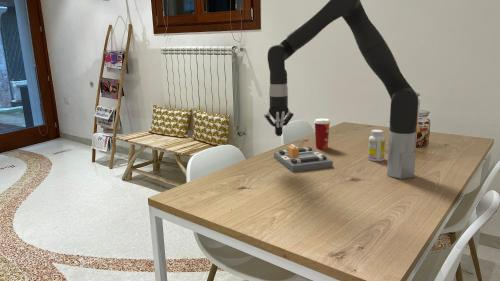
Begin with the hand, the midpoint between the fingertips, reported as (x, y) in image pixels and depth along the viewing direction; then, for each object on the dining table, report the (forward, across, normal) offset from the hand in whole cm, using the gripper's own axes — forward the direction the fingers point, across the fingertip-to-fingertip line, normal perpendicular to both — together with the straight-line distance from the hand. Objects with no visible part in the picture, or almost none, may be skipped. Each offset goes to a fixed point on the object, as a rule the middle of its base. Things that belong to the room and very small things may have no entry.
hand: (278, 135), depth 163 cm
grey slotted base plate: (+13, +11, 0) cm, 17 cm away
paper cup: (+13, +29, +17) cm, 36 cm away
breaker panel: (+13, +11, 0) cm, 17 cm away
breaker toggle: (+10, +6, 0) cm, 12 cm away
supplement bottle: (+13, +42, -9) cm, 44 cm away
